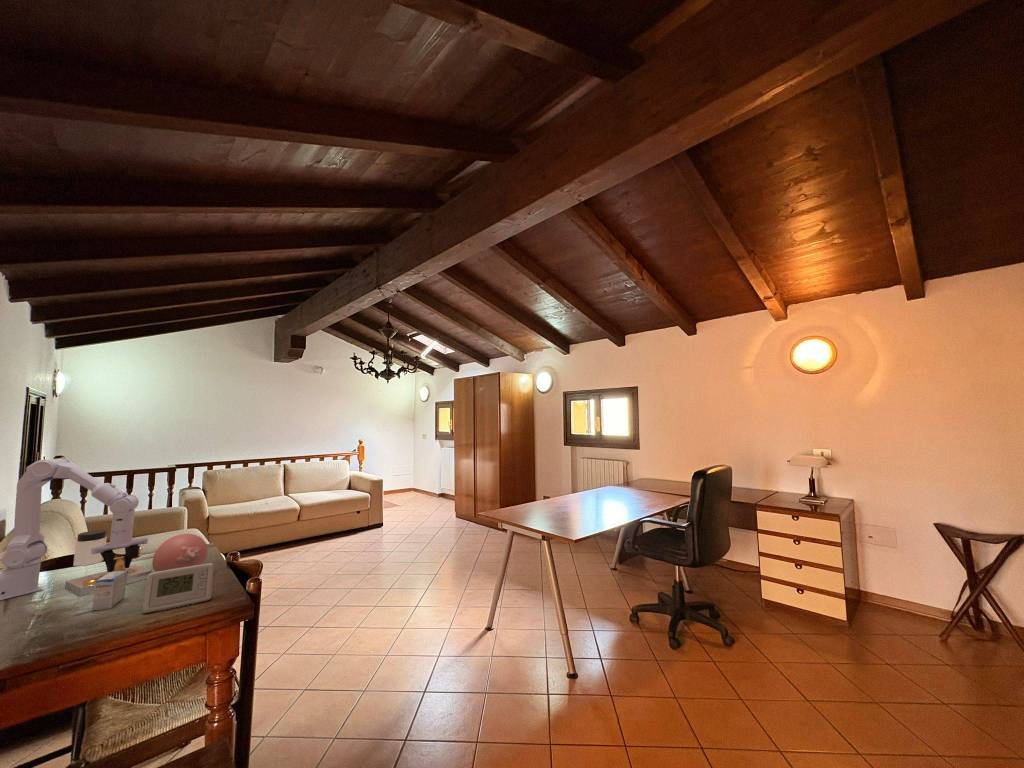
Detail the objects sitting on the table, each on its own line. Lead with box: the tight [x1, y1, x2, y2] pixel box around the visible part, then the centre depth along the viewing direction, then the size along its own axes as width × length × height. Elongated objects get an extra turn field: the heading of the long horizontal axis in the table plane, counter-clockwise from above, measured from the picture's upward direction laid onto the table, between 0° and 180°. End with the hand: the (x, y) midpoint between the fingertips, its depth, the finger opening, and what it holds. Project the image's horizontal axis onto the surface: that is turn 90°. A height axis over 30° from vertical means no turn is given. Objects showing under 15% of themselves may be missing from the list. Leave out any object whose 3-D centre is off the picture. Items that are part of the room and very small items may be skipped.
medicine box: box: [91, 571, 127, 611], centre depth 121 cm, size 8×4×9 cm, turn 23°
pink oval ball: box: [151, 533, 209, 572], centre depth 141 cm, size 15×20×15 cm
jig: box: [64, 564, 152, 597], centre depth 138 cm, size 18×14×4 cm
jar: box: [72, 529, 108, 567], centre depth 160 cm, size 9×8×12 cm
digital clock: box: [142, 562, 214, 614], centre depth 121 cm, size 16×9×11 cm, turn 114°
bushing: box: [112, 555, 127, 572], centre depth 140 cm, size 4×4×6 cm
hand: (118, 569), depth 140 cm, fingers closed on bushing, 4 cm apart
